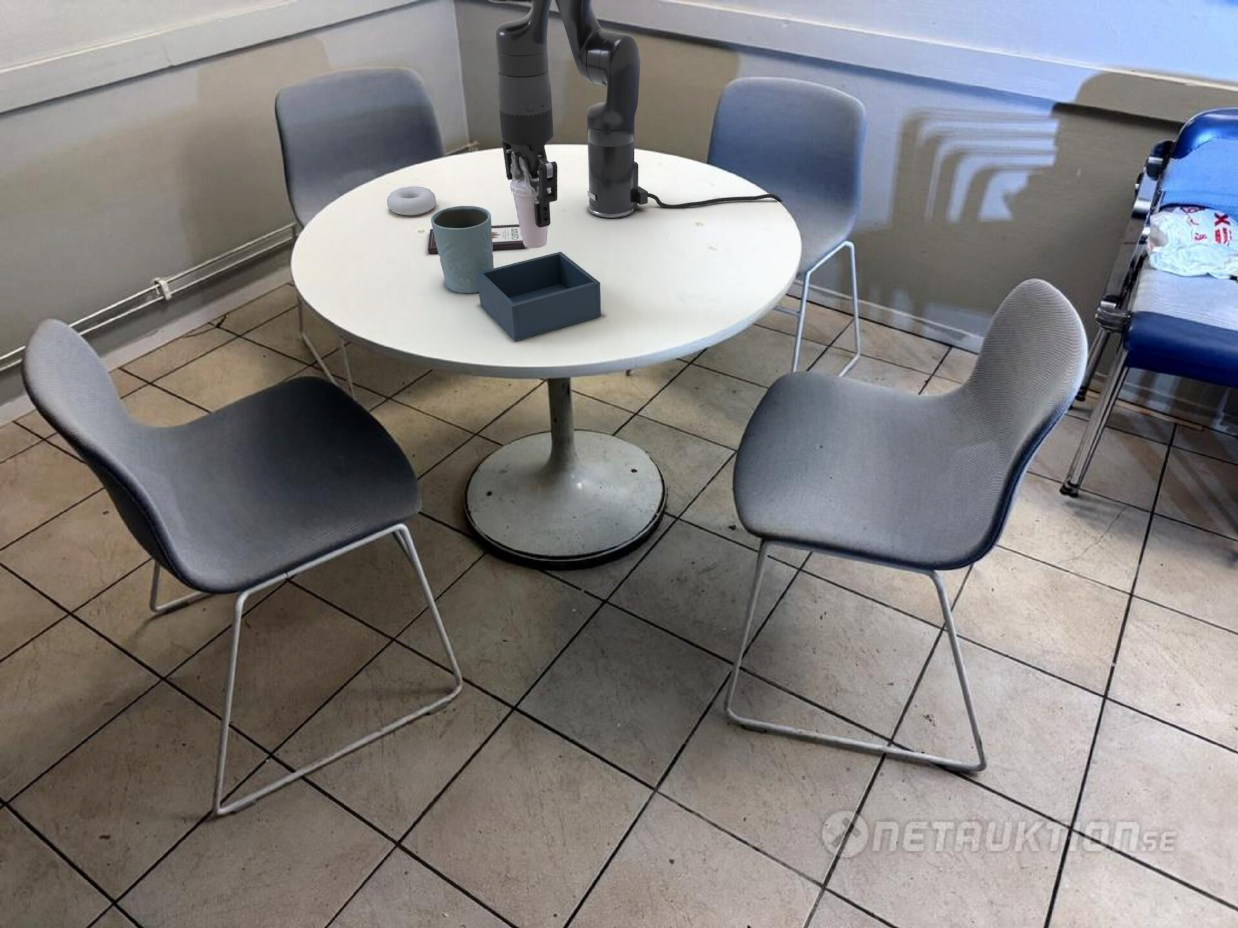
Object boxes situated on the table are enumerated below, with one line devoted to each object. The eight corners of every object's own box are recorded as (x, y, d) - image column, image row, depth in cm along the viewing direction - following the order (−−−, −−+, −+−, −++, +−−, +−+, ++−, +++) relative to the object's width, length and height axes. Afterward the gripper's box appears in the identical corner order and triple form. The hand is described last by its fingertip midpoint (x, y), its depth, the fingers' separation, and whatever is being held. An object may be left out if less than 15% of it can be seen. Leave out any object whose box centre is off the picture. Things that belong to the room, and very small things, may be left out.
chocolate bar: (430, 229, 162) (522, 224, 164) (430, 233, 163) (523, 228, 165) (427, 248, 155) (524, 243, 157) (428, 253, 156) (525, 248, 158)
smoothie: (524, 255, 128) (516, 164, 119) (508, 239, 133) (500, 150, 124) (562, 246, 130) (557, 156, 122) (545, 231, 135) (540, 143, 126)
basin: (562, 283, 147) (561, 251, 143) (601, 316, 137) (600, 282, 134) (480, 305, 140) (476, 272, 137) (515, 341, 131) (511, 306, 127)
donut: (439, 199, 177) (391, 200, 177) (437, 183, 175) (388, 184, 174) (435, 218, 170) (385, 218, 169) (432, 201, 168) (382, 202, 167)
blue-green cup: (472, 300, 142) (464, 233, 134) (428, 286, 146) (417, 220, 138) (509, 277, 148) (503, 212, 141) (465, 264, 153) (457, 200, 145)
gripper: (572, 114, 115) (576, 229, 126) (527, 89, 125) (534, 198, 135) (523, 122, 112) (531, 240, 123) (480, 96, 122) (492, 207, 132)
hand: (533, 218), depth 129 cm, fingers closed on smoothie, 6 cm apart
